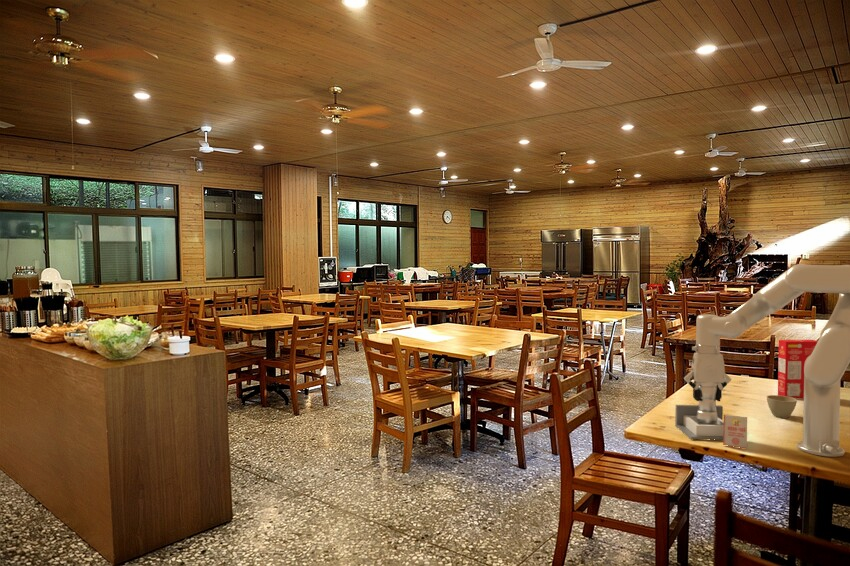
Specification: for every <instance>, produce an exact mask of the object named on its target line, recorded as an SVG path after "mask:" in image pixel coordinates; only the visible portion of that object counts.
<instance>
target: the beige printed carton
mask: <svg viewBox="0 0 850 566" xmlns="http://www.w3.org/2000/svg"><path fill="white" fill-rule="evenodd" d="M723 421H724V431H723V441H722V442H723V443H722V446H723V445H728V446H734V447H740V448H739V449H742V448H747V449H748V416H741V415H739V416H738V415H731V414H724V415H723ZM734 447H733V448H734Z"/></svg>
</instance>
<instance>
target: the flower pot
mask: <svg viewBox="0 0 850 566" xmlns="http://www.w3.org/2000/svg"><path fill="white" fill-rule="evenodd" d="M766 401H767V405H768V408H769V410H770V412H771V414H772V416H773V417H775V416H776V417H775V418H780V419H788V418H789V417H790V416H792V414H793V412H794V410H795V408H796V406H797V402H798V399H795V398H792V397H787V396H779V395H778V394H777V395H776V394H771V395H767V396H766Z"/></svg>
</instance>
